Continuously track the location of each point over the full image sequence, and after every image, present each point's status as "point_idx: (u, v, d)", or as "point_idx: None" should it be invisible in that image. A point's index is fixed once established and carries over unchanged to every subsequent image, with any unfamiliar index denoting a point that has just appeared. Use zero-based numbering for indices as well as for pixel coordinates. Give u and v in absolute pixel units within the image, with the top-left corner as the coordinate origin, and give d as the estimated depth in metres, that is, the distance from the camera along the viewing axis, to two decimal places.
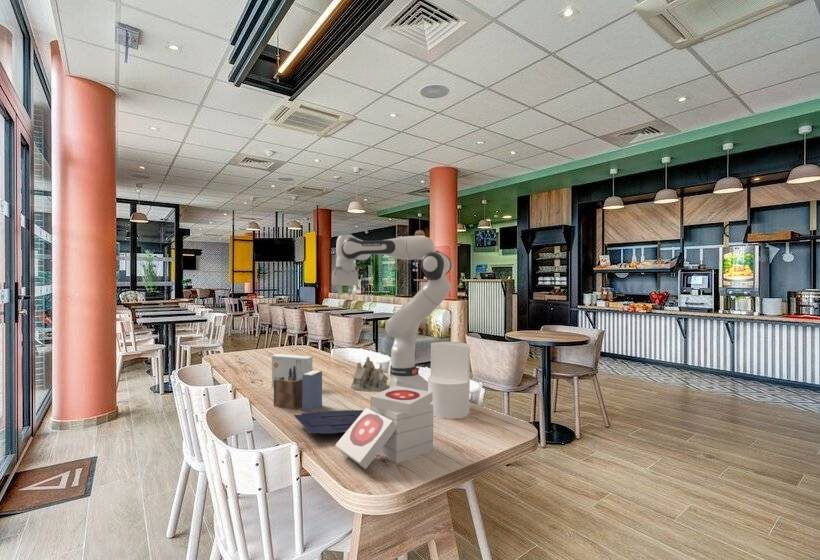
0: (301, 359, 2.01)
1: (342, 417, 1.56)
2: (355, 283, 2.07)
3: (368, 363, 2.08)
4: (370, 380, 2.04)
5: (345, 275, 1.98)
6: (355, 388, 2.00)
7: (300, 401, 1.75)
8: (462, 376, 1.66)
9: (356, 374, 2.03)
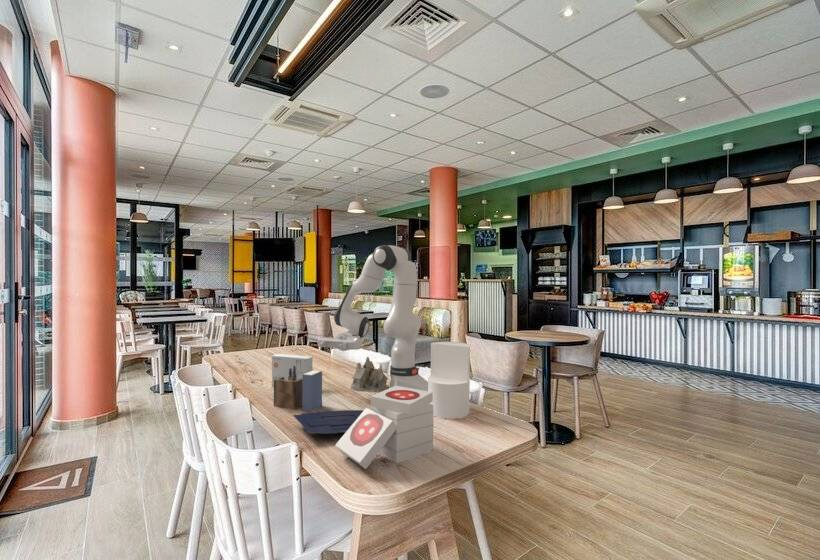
0: (301, 359, 2.01)
1: (342, 417, 1.56)
2: (350, 341, 1.89)
3: (368, 363, 2.08)
4: (370, 380, 2.03)
5: (336, 339, 1.96)
6: (355, 388, 2.00)
7: (300, 401, 1.75)
8: (462, 376, 1.66)
9: (356, 374, 2.03)
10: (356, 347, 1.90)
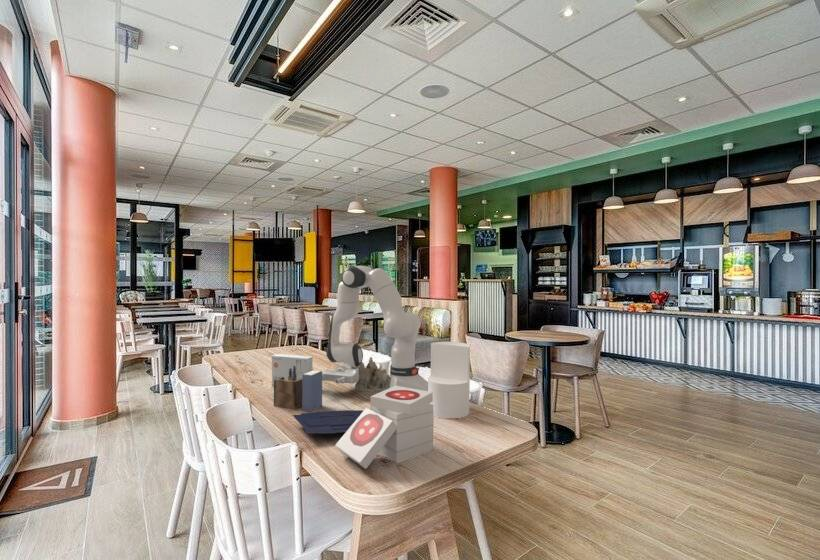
0: (301, 359, 2.01)
1: (341, 417, 1.56)
2: (348, 375, 1.88)
3: (371, 364, 2.07)
4: (374, 381, 2.02)
5: (334, 372, 1.95)
6: (359, 389, 1.99)
7: (300, 401, 1.75)
8: (462, 376, 1.66)
9: (360, 375, 2.02)
10: (354, 381, 1.89)
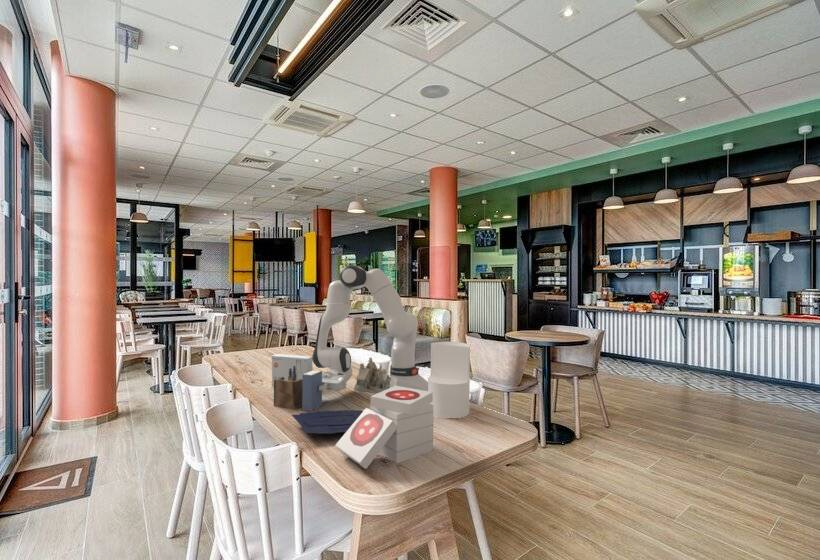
0: (301, 359, 2.01)
1: (340, 417, 1.56)
2: (334, 381, 1.76)
3: (371, 364, 2.06)
4: (373, 381, 2.02)
5: None
6: (359, 389, 1.98)
7: (300, 401, 1.75)
8: (462, 376, 1.66)
9: (359, 375, 2.01)
10: (341, 388, 1.77)
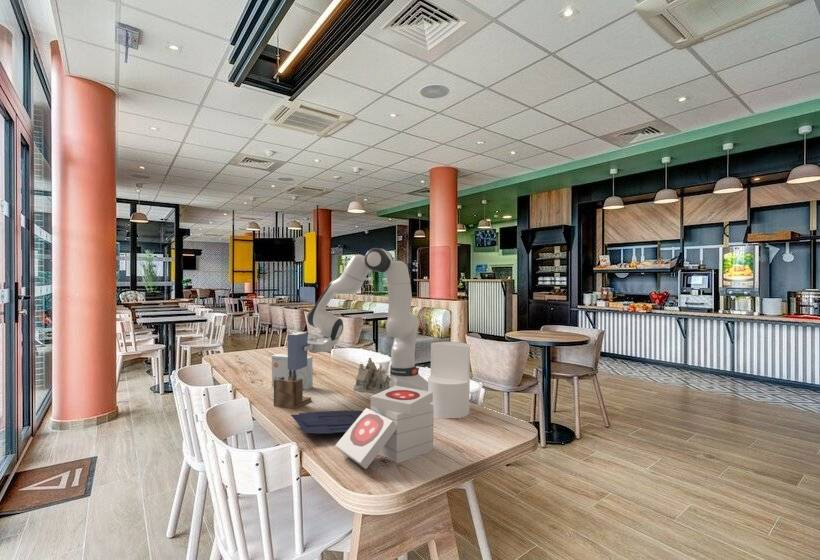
0: None
1: (339, 417, 1.55)
2: (319, 343, 1.80)
3: (370, 364, 2.06)
4: (373, 381, 2.01)
5: None
6: (358, 390, 1.97)
7: (300, 401, 1.75)
8: (462, 376, 1.66)
9: (359, 375, 2.00)
10: (326, 349, 1.81)
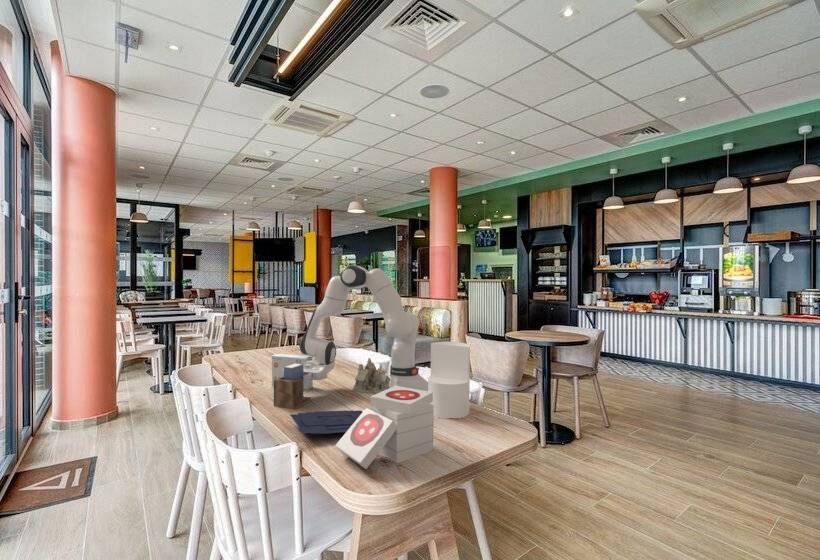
0: (301, 359, 2.01)
1: (338, 417, 1.55)
2: (315, 371, 1.82)
3: (370, 364, 2.05)
4: (372, 382, 2.00)
5: None
6: (358, 390, 1.97)
7: (300, 401, 1.75)
8: (462, 376, 1.66)
9: (358, 376, 1.99)
10: (321, 377, 1.83)
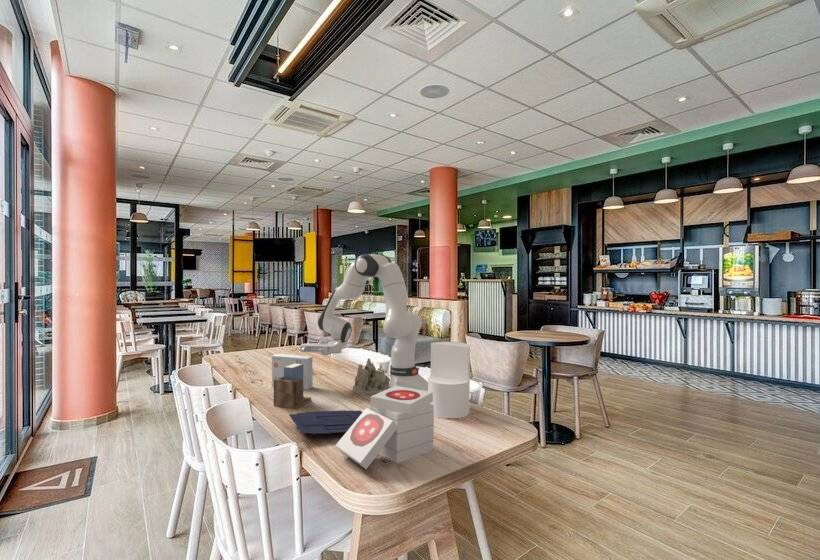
0: (301, 359, 2.01)
1: (337, 417, 1.55)
2: (330, 345, 1.94)
3: (369, 365, 2.04)
4: (372, 382, 2.00)
5: (318, 344, 2.01)
6: (357, 391, 1.96)
7: (300, 401, 1.75)
8: (462, 376, 1.66)
9: (358, 376, 1.98)
10: (337, 351, 1.95)
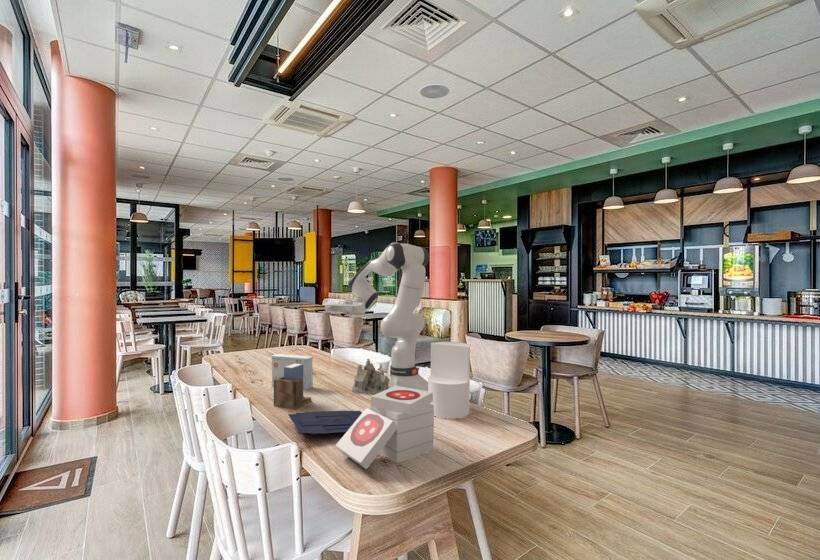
0: (301, 359, 2.01)
1: (336, 417, 1.55)
2: (355, 305, 2.03)
3: (369, 365, 2.03)
4: (372, 383, 1.99)
5: (342, 304, 2.09)
6: (357, 391, 1.95)
7: (300, 401, 1.75)
8: (462, 376, 1.66)
9: (357, 377, 1.98)
10: (361, 311, 2.03)
